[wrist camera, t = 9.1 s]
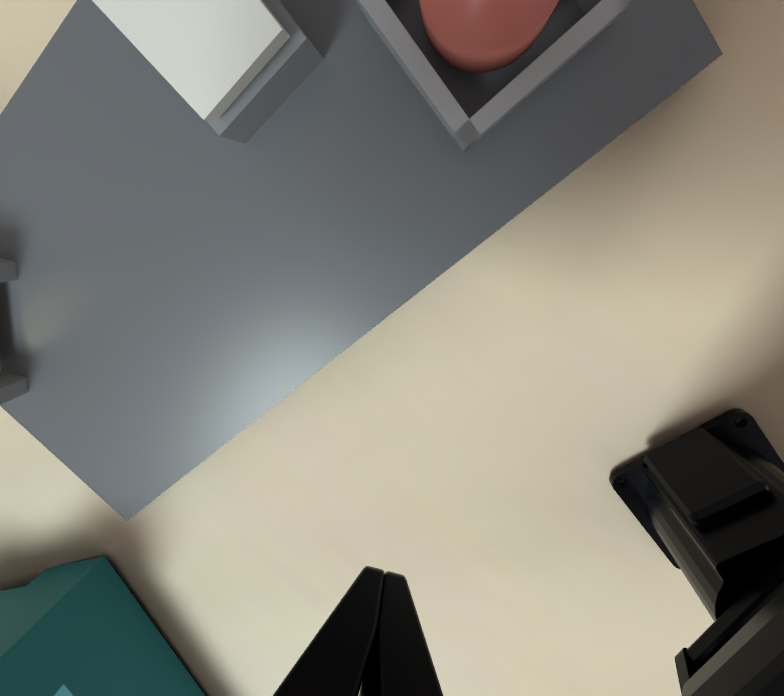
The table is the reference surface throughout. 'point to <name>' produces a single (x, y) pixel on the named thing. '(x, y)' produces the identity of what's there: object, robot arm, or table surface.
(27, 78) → the control panel
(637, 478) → the robot arm
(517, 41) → the push button
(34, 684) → the teal curved cradle
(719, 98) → the table surface
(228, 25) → the rocker switch
